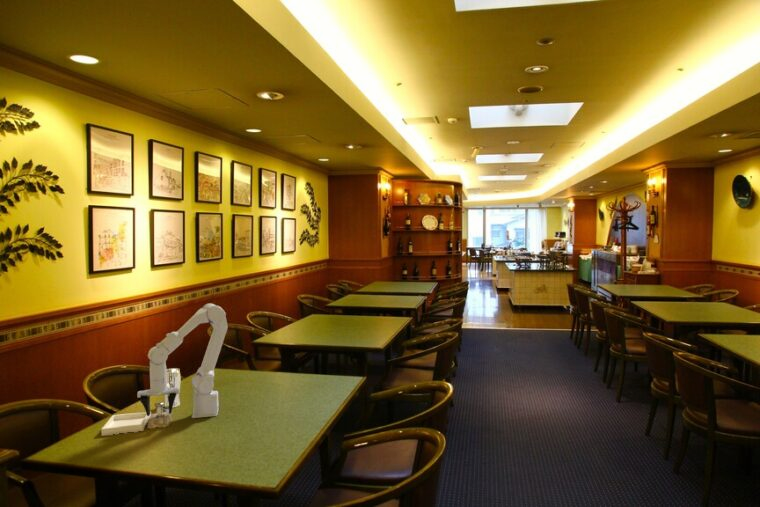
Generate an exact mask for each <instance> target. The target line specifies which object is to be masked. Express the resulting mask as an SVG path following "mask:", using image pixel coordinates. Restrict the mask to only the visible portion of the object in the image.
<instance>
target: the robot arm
mask: <svg viewBox="0 0 760 507" xmlns="http://www.w3.org/2000/svg"><path fill="white" fill-rule="evenodd" d="M226 315H227V312H225V310H224V309H223V308H222V307H221V306H220V305H216V304H214V303H212V302H211V303H206V304H204V305H203V306H202V307H201V308H199V309H198V310H197V311H196V312H195V314H194V315H192V316H191V317H190V318H189V319H188V320H187V321H186V322H185V323H184V324H183V325H182V326H181V327H180V328H179V329H178V330H177V331H171V332H170V333H169V332H168V333H166V334H165V336H166V337H165V338H163V339H162V340H161V341H160V342H157V343H156V344H155V346H153V347H151V348H150V349H149V351H148V354H147V358H148V359H149V384H150V385H149V386H150V387H149V388H150V389H145V390H139V391H137V394H136V395H137V398H138V399H139V398H140V399H139V400H140V403H141V404H142V405H143V407H144V408H143V409H144V410H145V412H146V413H147V416H149V415H150V411H151V403H150V402H151V397H152V396H153V397H154V396H165V395H167V394H170V395H169V396H168V401H169V408H168V409H169V414H171V413H172V414H173V408H172V407H173V403H174V400H175V397H176V395H177V394H179V395H180V393H181V391H180V390H181V387H180V388H167V375H166V369H167V364H166V363H167V362H166V361H167V360H168V357H169V355H170V354H172V353H173V352H174V351H175V350H176V349H178V347H179V346H180V345H181V344H182V343H183V341H184V337H186V336H187V335H188V334H189V333H190V332H192V331H193V330H194V329H195V328H197V327H198V326H199V325H200V324H207V323H209V324H210V325H211V326H212V328H213V329H212V332H211V335H210V339H209V341H208V343H207V344H208V345H207V347H206V350H205V354H204V356H203V360H202V362H201V365H200V367H198V369H197V370H196V373H195V375H194V376H193V377H192V379H191V385H192V387H193V389H194V390H193V391H192V394H193V395H192V398H193V412H192V415H191V419H198V418H208V417H217V416H218V413H219V409H220V404H219V392H218V391H219V390H213V389H214V386H215V383H214V379H215V368H216V364H217V362H218V358H219V355H220V353H221V351H222V347H223V344H224V340H225V336H226V334H227V332H228V329H229V327H228V322H227V317H226Z"/></svg>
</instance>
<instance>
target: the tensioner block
mask: <svg viewBox="0 0 760 507" xmlns="http://www.w3.org/2000/svg"><path fill="white" fill-rule="evenodd" d="M172 416H173V412H172V413H171V414H169V408H163V418H156V412H155V413H151V416H150V418H149V419H148V424H147V429H148V428H150V429H156V428H155V427H159V428H167V427H166V426H168V427H169V425H170V423H171V421H172Z"/></svg>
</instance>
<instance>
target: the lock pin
mask: <svg viewBox="0 0 760 507" xmlns="http://www.w3.org/2000/svg"><path fill="white" fill-rule="evenodd" d="M164 406H165V402H163V401H158V402H156V403H154V407H155V413H156V418H163V409H164V408H163V407H164Z"/></svg>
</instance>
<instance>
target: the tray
mask: <svg viewBox="0 0 760 507" xmlns="http://www.w3.org/2000/svg"><path fill="white" fill-rule="evenodd" d="M151 414H152V411H151V410H150V415H149V416H147V413H146V411H142V412H131V413H121V414H113V415H112V416H111V417H110V418H109V419H108V420H107V422H105V424H104V425H103V426H102V427H101V429H100V430H101V436H102V437H105V436H113V434H115V435H120V434H119V433H124V434H128V433H127V432H134V433H139V432H138V431H143V432H144V430H145V429H146V427H147V426H148V424H147V423H148V419H149V418H150V416H151ZM145 426H146V427H145ZM144 428H145V429H144Z"/></svg>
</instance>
